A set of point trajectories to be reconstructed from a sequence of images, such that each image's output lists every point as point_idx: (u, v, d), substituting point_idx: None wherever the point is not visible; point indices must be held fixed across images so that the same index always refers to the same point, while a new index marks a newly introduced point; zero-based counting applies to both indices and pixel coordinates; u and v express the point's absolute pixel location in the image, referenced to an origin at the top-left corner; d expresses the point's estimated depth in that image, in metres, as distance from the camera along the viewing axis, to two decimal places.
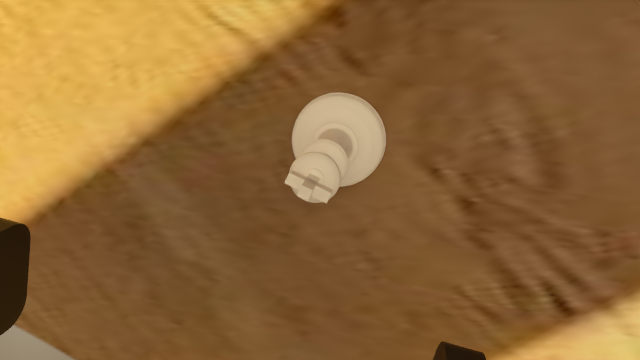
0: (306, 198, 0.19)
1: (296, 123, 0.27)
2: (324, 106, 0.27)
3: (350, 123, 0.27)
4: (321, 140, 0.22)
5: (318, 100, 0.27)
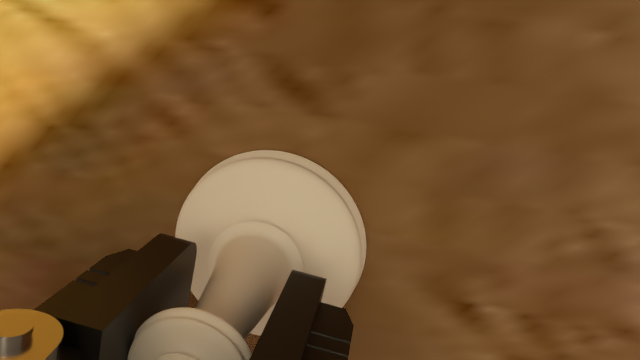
0: None
1: (181, 213, 0.13)
2: (235, 182, 0.13)
3: (289, 219, 0.12)
4: (180, 314, 0.08)
5: (223, 168, 0.13)
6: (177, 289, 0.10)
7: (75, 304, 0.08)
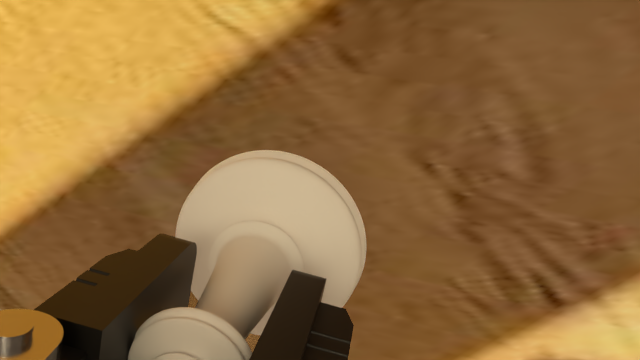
0: None
1: (181, 213, 0.13)
2: (235, 182, 0.13)
3: (288, 218, 0.13)
4: (180, 313, 0.08)
5: (224, 168, 0.13)
6: (177, 289, 0.10)
7: (75, 304, 0.08)
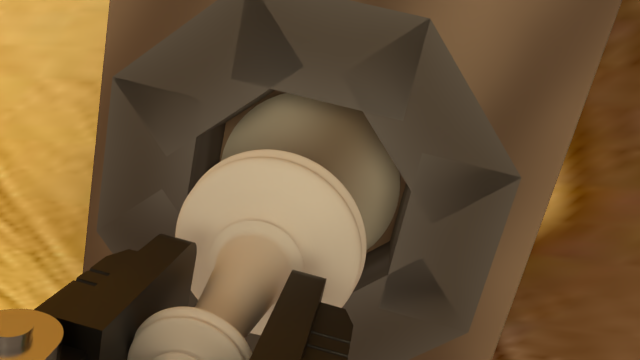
0: None
1: (181, 213, 0.13)
2: (235, 181, 0.13)
3: (289, 218, 0.12)
4: (180, 313, 0.08)
5: (223, 168, 0.13)
6: (177, 289, 0.10)
7: (75, 304, 0.08)
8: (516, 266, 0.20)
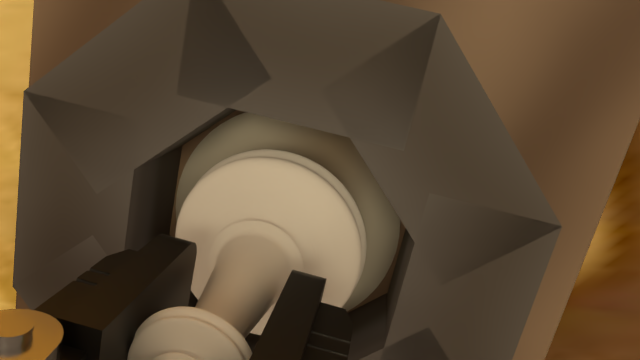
0: None
1: (181, 213, 0.13)
2: (235, 181, 0.13)
3: (289, 218, 0.12)
4: (180, 313, 0.08)
5: (223, 168, 0.13)
6: (177, 289, 0.10)
7: (75, 304, 0.08)
8: (546, 327, 0.16)
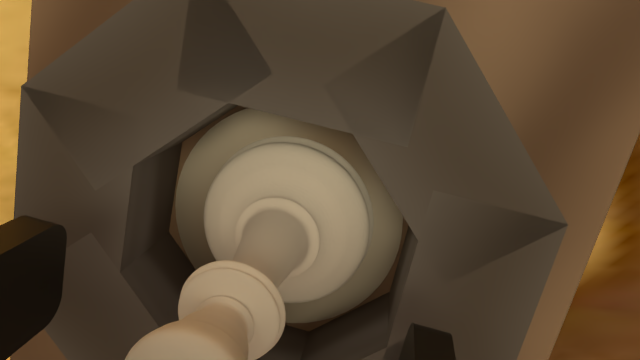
0: None
1: (209, 194, 0.15)
2: (256, 164, 0.14)
3: (304, 195, 0.14)
4: (222, 265, 0.10)
5: (246, 153, 0.15)
6: (37, 273, 0.10)
7: None
8: (550, 326, 0.16)
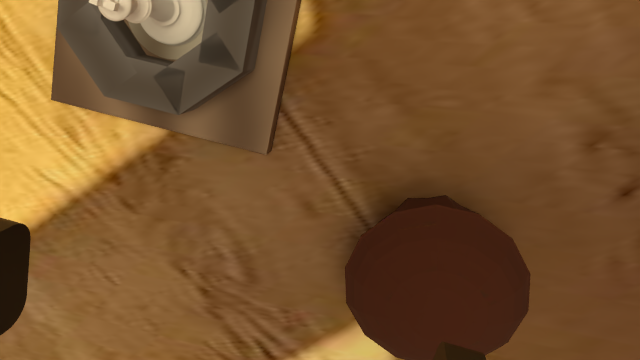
0: (95, 3, 0.28)
1: None
2: None
3: None
4: None
5: None
6: None
7: None
8: (282, 53, 0.37)
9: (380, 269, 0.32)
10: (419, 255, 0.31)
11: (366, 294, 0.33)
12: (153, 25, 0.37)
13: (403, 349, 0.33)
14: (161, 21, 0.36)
